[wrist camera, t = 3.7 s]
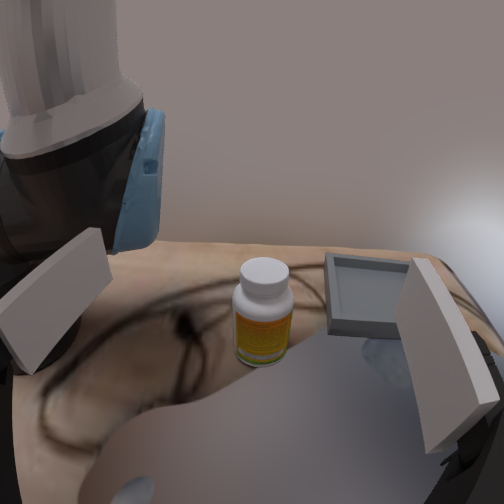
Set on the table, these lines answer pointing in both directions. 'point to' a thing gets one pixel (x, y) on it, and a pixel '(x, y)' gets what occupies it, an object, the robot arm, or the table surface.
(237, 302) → the supplement bottle
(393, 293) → the grey tray
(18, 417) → the table surface
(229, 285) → the table surface
